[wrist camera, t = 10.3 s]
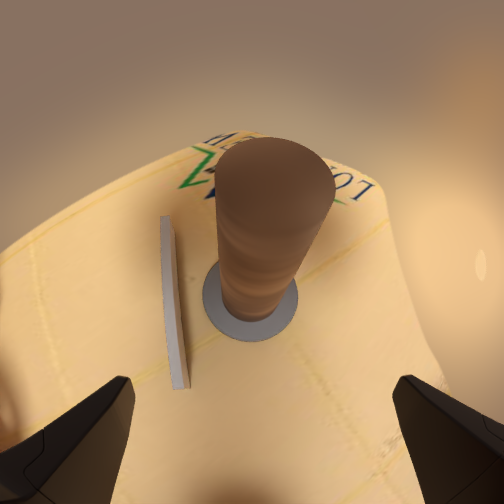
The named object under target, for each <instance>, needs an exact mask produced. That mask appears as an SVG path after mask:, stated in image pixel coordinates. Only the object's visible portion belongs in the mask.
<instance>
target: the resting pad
mask: <svg viewBox="0 0 504 504" xmlns="http://www.w3.org/2000/svg"><path fill="white" fill-rule="evenodd" d="M203 303H204V307H205V310H206V313H207V315H208V317H209V319H210V320H211V322H212V323H213V324H214V326H215V327H216V328H217V329H218V330H220V331H221V332H222V333H224V334H225V335H227V336H229V337H231V338H233V339H236V340H240V341H246V342H255V341H262V340H266V339H268V338H271V337H273V336H275V335H277V334H278V333H279V332H281V331H282V330H283V329H284V328H285V327H286V326H287V325H288V324H289V322H290V321H291V319H292V318H293V316H294V314H295V311H296V308H297V303H298V291H297V286H296V283H295V280H294V278H293V279H292V281H291V283H290V284H289V286H288V288H287V290H286V291H285V293H284V295H283V297H282V299H281V300H280V302H279V304H278V306H277V307H276V309H275V311H274V312H273V313H272V314H271V315H270V316H269V317H267V318H266V319H264V320H261V321H258V322H244V321H241V320H238V319H236V318H235V317H233V316H232V315H231V314H230V313H229V312H228V311H227V310H226V308H225V306H224V304H223V301H222V293H221V280H220V266H219V262H217V263H216V264H215V265H214V266H213V267H212V269H211V270H210V271H209V273H208V275H207V277H206V279H205V282H204V286H203Z"/></svg>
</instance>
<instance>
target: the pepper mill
mask: <svg viewBox="0 0 504 504" xmlns="http://www.w3.org/2000/svg"><path fill="white" fill-rule="evenodd" d="M214 176H215V199H216V218H217V236H218V252H219V266H220V280H221V293H222V301H223V304H224V306H225V308H226V310H227V311H228V312H229V313H230V314H231V315H232V316H233V317H235V318H236V319H238V320H241V321H244V322H258V321H261V320H264V319H266V318H267V317H269V316H270V315H271V314H272V313H273V312H274V311H275V309H276V307H277V306H278V304H279V302H280V300H281V299H282V297H283V295H284V293H285V291H286V290H287V288H288V286H289V284H290V283H291V281H292V279H293V277H294V275H295V274H296V272H297V270H298V268H299V266H300V264H301V263H302V261H303V259H304V257H305V255H306V253H307V251H308V249H309V248H310V246H311V244H312V242H313V240H314V238H315V236H316V234H317V232H318V231H319V229H320V227H321V225H322V223H323V221H324V219H325V217H326V215H327V213H328V211H329V209H330V207H331V205H332V203H333V201H334V198H335V192H336V187H335V181H334V177H333V175H332V172H331V171H330V169H329V167H328V166H327V165H326V163H325V162H324V161H323V160H322V159H321V158H320V157H319V156H318V155H317V154H315V153H314V152H313V151H311V150H310V149H308V148H306V147H304V146H302V145H300V144H298V143H295V142H292V141H289V140H285V139H280V138H271V137H263V138H254V139H250V140H246V141H243V142H240V143H238V144H236V145H234V146H233V147H231V148H230V149H228V150H227V151H226V152H225V153H224V154H223V155H222V157H221V158H220V159H219V161H218V163H217V165H216V168H215V175H214Z"/></svg>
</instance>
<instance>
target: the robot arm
mask: <svg viewBox="0 0 504 504" xmlns="http://www.w3.org/2000/svg"><path fill="white" fill-rule="evenodd" d="M392 398H393V402H394V405H395V409H396V413H397V417H398V421H399V425H400V428H401V432H402V435H403V438H404V440H405V443H406V446H407V449H408V452H409V454H410V457H411V460H412V463H413V466H414V469H415V472H416V475H417V478H418V481H419V485H420V488H421V491H422V494H423V498H424V501H425V504H504V425H503V424H501V423H498V422H496V421H494V420H492V419H490V418H488V417H487V416H484V415H482V414H481V413H479V412H477V411H475V410H474V409H472V408H470V407H468V406H466V405H465V404H463V403H461V402H459V401H457V400H456V399H454V398H452V397H450V396H448V395H447V394H445V393H443V392H441V391H439V390H438V389H436V388H434V387H432V386H431V385H429V384H427V383H425V382H424V381H422V380H420V379H418V378H417V377H415V376H413V375H404V376H401V377H400V379H399V380H398V383H397V385H396V387H395V389H394V391H393V394H392ZM134 404H135V393H134V389H133V386H132V382H131V379H130V378H129V377H125V376H116V377H115V378H113V379H112V380H111V381H109V382H108V383H106V384H105V385H104V386H102V387H101V388H99V389H98V390H97V391H95V392H94V393H92V394H91V395H90V396H88V397H87V398H85V399H84V400H83V401H81V402H80V403H78V404H77V405H76V406H74V407H73V408H71V409H70V410H69V411H67V412H66V413H64V414H63V415H61V416H60V417H59V418H57V419H56V420H54V421H53V422H51V423H50V424H48V425H47V426H46V427H44V430H43V429H41V430H40V431H38V432H37V433H35V434H34V435H32V436H31V437H29V438H27V439H26V440H24V441H23V442H21V443H19V444H17V445H15V446H13V447H11V448H9V449H7V450H5V451H3V452H1V453H0V504H110V502H111V498H112V494H113V491H114V487H115V483H116V479H117V476H118V472H119V469H120V465H121V462H122V458H123V455H124V451H125V448H126V445H127V441H128V437H129V432H130V426H131V420H132V415H133V410H134Z"/></svg>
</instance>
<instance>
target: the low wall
mask: <svg viewBox="0 0 504 504" xmlns="http://www.w3.org/2000/svg"><path fill="white" fill-rule="evenodd" d="M161 269H162V289H163V304H164V317H165V329H166V339H167V348H168V357H169V365H170V372H171V380H172V386H173V390H175V389H188V388H190V382H189V376H188V369H187V362H186V354H185V347H184V338H183V330H182V321H181V311H180V300H179V289H178V276H177V261H176V243H175V232H174V229H173V225H172V222H171V219H170V216H162V217H161Z"/></svg>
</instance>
